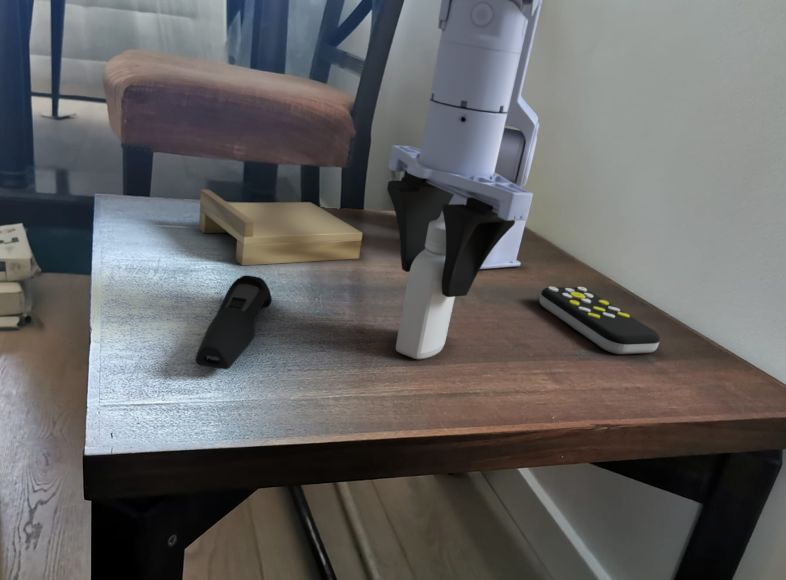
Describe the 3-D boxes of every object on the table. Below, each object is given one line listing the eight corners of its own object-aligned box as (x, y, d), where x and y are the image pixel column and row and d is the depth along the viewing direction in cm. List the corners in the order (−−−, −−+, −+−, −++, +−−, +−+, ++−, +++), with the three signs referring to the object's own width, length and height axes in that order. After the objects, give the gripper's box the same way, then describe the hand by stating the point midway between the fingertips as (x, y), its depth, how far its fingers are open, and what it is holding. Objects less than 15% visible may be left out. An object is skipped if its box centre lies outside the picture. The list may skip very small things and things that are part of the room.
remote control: (610, 357, 63) (617, 337, 62) (532, 301, 73) (537, 284, 73) (662, 354, 66) (669, 335, 65) (579, 301, 76) (584, 284, 75)
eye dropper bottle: (462, 355, 59) (494, 215, 54) (407, 363, 56) (435, 216, 51) (432, 333, 62) (459, 199, 57) (378, 339, 59) (402, 199, 54)
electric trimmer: (180, 381, 48) (181, 340, 47) (231, 298, 62) (233, 264, 61) (234, 389, 48) (237, 349, 47) (273, 305, 62) (276, 271, 61)
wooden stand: (308, 225, 87) (312, 189, 85) (358, 258, 78) (364, 219, 76) (198, 228, 79) (200, 189, 77) (241, 265, 70) (245, 222, 68)
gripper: (368, 85, 54) (345, 253, 59) (494, 122, 43) (451, 323, 49) (440, 92, 57) (411, 250, 63) (571, 128, 47) (523, 313, 53)
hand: (433, 281), depth 56 cm, fingers open, 5 cm apart
